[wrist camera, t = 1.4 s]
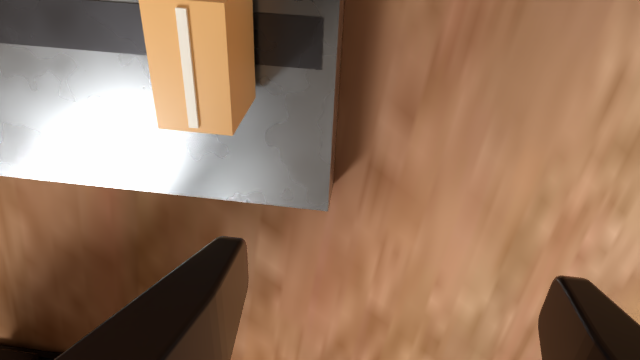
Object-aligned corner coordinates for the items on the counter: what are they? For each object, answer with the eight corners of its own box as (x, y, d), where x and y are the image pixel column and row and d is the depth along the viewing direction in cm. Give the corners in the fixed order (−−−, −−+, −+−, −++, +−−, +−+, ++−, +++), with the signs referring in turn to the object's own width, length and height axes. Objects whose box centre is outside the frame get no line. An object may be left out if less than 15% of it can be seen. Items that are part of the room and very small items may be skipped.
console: (333, 185, 23) (324, 229, 20) (-153, 134, 25) (-219, 168, 22) (357, -208, 15) (348, -222, 12) (-346, -231, 17) (-484, -247, 14)
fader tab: (255, 97, 18) (232, 137, 16) (191, 91, 18) (156, 130, 16) (251, -21, 16) (223, 3, 13) (178, -25, 16) (136, -3, 14)
